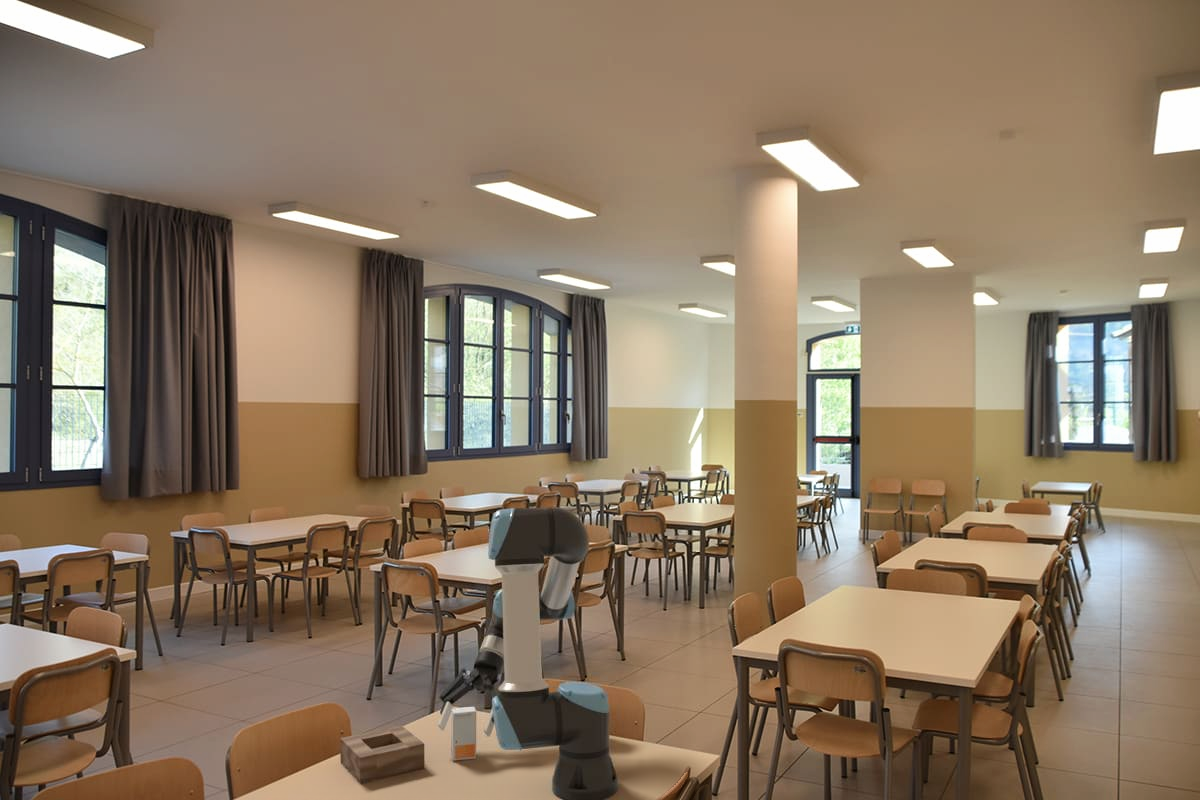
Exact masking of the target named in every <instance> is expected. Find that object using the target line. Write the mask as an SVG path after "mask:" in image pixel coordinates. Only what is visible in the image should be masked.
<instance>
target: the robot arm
mask: <svg viewBox="0 0 1200 800" xmlns="http://www.w3.org/2000/svg"><path fill="white" fill-rule="evenodd" d="M589 548H590V537H589V532H588V530H587V528H586V525H585V524H584V522H583V521H582V520H581V518H579V516H577V515H576V514H575V513H573V512H572V511H570V510H568V509H566V508H562V507H557V506H550V507H511V508H505V509H498V510H496V512H494V514H493V515H492V518H491V523H490V528H489V536H488V549H487V551H488V553H487V554H488V555H487V556H488V559H489V560H491V561H494V568H495V569H496V570H497V571H499V573H500V574H501V589H500V590H499V591H498V592H497V593H496V595H495V597H494V599H493V603H492V614H491V618H490V623H489V626H488V629H487V631H486V634H485V636H484V638H483V641H482V643H481V646H480V648H479V651H478V653H477V656H476V658H475V661H474V666H473V668H472V669H471V671H470V670H467V669H466V668H464V667H463V668H461V670H460V672H459V674H458V675H457V676H456V678H454V679H453V680H452V681H451V683H450V684H449V685H448V686H447V687H446V688H445V689H444V690H443V691H442V692H441V693H440V695H439V696H438V697H439V699H440V701H441V702H442V703H443V704H442V707H441V709H440V712H439V713H440V717H439V720H438V723H437V727H438V728H439V729H440V730H441V731H445V729H446V727H447V724H448V722H449V720H450V717H451V709H454V706H453V704H455V702H458V701H459V700H460V699H461V698H462V697H464V696H465V695H466V694H468V693H469V692H471V691H474V690H483V691H487V690H488V691H489V693H490V696H491V698H492V699H491V706H492V707H491V710H490V713H489V715H488V718H487V721H486V723H485V727H484V728H483V733H484V734H485V736H486V737H491V734H492V732H493V729H494V728H495V733H496V734H495V735H496V738H497V742H498V745H499V747H500V748H501V749H503V750H505V751H517V750H518V751H523V750H530V749H540V748H550V747H556V746H557V747H559V748H558V751H559V752H558V753H559V754H558V757H557V760H556V763H555V764H556V765H555V768H554V772H553V775H552V778H551V779H552V780H551V789H552V790H551V791H552V792H553V794H554V795H556V796H557V797H558V798H560V799H563V800H604V799H606V798H608V797H609V798H610V797H611V796H612V795H613V794H615V793H616V792H617V791H618V783H619V782H618V774H617V772H616V769H615V766H614V763H613V760H612V756H611V754H610V753H611V752H610V711H611V709H610V705H609V696H608V693H607V691H606V690H605V689H603V687H601V686H599V685H596V684H593V683H588V682H582V681H566V682H562V683H560V684H559V685H558V687H557V691H554V692H553V691H552V692H551V691H550V685H549V683H548V682H546V680H544V678H543V675H542V673H543V670H542V669H543V668H542V647H541V646H542V645H541V641H542V639H541V621H542V622H543V621H562V620H566V619H571V618H572V617H574V616H575V615H574V614H575V610H576V609H575V607H576V606H575V597H574V594H573V592H572V589H573V585H574V583H575V579H576V575H577V573H578V569H579V567H580V563H581V562H582V561H583V560H584V559H585V558H586V556H587V554H588V551H589ZM546 557H547V558H549V561H548V565H547V569H546V575H545V577H544V582H543V587H542V589H541V592H540V590H539V586H540V584H539V572H540V571H541V570H542V568H543V567H544V566H545V558H546ZM503 668H504V671H503V672H502V670H503ZM501 672H502V673H501ZM498 681H499V682H500V685H499V686H498V688H497V689H498V690H496V687H495V684H496V683H497V682H498ZM497 691H498V692H497Z"/></svg>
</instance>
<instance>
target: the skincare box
mask: <svg viewBox="0 0 1200 800" xmlns="http://www.w3.org/2000/svg"><path fill="white" fill-rule="evenodd" d="M450 717H451V725H450V726H451V728H450V729H451V733H450V736H451V737H450V738H451V748H450V749H451V753H450V755H451V759H452V761H453V762H454V761H455V762H456V761H463V760H474V759H475V760H476V759H477V710H476V707H475V706H465V707H464V706H463V707H458V708H457V707H455V708H454V707H453V709H451V714H450Z"/></svg>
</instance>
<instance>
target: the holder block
mask: <svg viewBox="0 0 1200 800" xmlns="http://www.w3.org/2000/svg"><path fill="white" fill-rule="evenodd" d="M339 743H340V744H339V745H340V747H339V750H340V759H339V760H340V764H341V763H342V764H343V765H344V766H345V767H346V768H347V769H348V770H349V771H348V770H347V769H346V768H345V767H344V766H343V765H342V764H341V765H342V766H343V767H344V768H345V769H346V770H347V771H348V772H349V773H350V772H351V773H350V774H351V776H353V777H355V778H356V779H357V780H356V779H355V778H354V779H355V780H356V781H357V782H358V781H359V782H358V783H359V784H360V783H361V784H364V783H363V782H365V783H367V782H366V781H369V782H372V781H371V780H373V781H376V780H375V779H377V780H381V779H380V778H382V779H385V778H384V777H386V778H389V777H388V776H390V777H394V776H397V774H398V775H402V774H406V773H411V772H415V771H418V769H419V770H422V769H423V770H424V769H425V743H424V742H423V741H422V740H421V739H420V738H418V737H417V736H416V735H415V734H413V733H412V732H411V731H409V730H408V729H407V728H405V727H404V726H402V725H398V726H393V727H388V728H387V727H386V728H384V729H379V730H374V731H370V732H364V733H359V734H355V735H349V736H345V737H340V740H339ZM401 773H402V774H401ZM393 775H394V776H393Z"/></svg>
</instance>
